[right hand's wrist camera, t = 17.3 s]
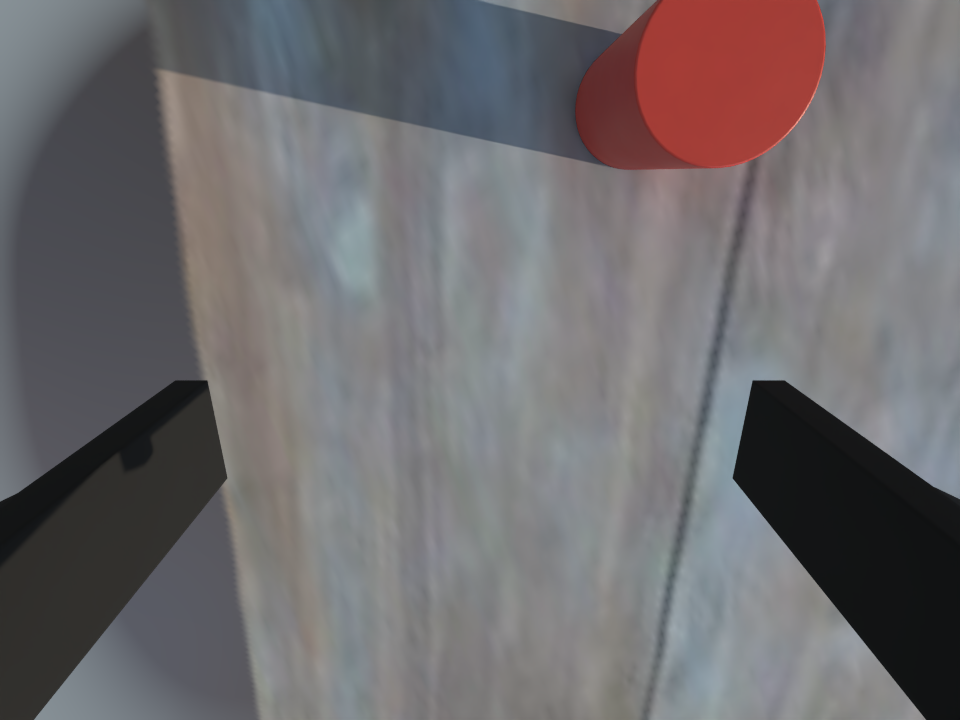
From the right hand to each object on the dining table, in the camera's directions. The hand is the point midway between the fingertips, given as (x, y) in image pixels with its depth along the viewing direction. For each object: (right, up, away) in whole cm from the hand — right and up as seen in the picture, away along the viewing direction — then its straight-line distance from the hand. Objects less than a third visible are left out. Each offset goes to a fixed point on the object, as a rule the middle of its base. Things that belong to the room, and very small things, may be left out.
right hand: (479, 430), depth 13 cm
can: (+8, +15, +15) cm, 23 cm away
